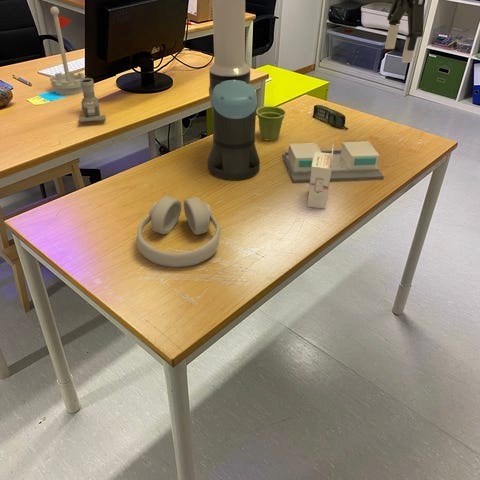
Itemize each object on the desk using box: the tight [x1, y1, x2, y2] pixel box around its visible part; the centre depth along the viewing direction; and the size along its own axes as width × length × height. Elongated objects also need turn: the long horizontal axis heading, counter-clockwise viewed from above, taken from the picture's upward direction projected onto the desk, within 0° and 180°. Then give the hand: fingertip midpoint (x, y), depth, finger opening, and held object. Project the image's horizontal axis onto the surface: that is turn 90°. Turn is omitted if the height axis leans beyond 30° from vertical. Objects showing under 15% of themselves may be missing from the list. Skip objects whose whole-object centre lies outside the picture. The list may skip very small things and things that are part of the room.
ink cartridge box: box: [306, 142, 335, 210], centre depth 118 cm, size 9×5×15 cm, turn 168°
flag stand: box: [49, 6, 86, 97], centre depth 174 cm, size 13×13×30 cm
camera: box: [77, 77, 107, 123], centre depth 159 cm, size 9×12×15 cm
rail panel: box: [281, 141, 385, 184], centre depth 135 cm, size 26×16×6 cm, turn 97°
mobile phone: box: [312, 104, 349, 130], centre depth 162 cm, size 5×3×15 cm
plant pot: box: [256, 105, 287, 142], centre depth 150 cm, size 9×9×9 cm
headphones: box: [136, 195, 221, 268], centre depth 105 cm, size 18×8×20 cm
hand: (397, 55), depth 134 cm, fingers open, 13 cm apart
